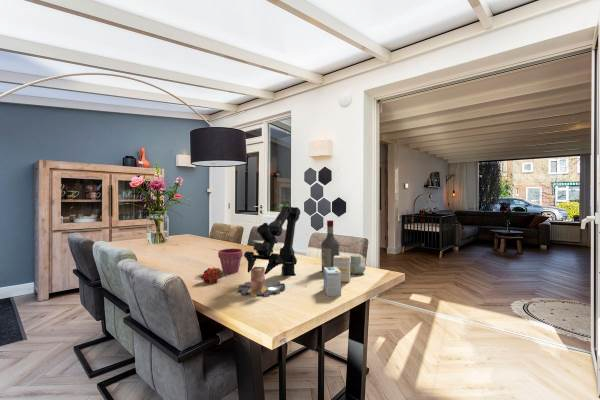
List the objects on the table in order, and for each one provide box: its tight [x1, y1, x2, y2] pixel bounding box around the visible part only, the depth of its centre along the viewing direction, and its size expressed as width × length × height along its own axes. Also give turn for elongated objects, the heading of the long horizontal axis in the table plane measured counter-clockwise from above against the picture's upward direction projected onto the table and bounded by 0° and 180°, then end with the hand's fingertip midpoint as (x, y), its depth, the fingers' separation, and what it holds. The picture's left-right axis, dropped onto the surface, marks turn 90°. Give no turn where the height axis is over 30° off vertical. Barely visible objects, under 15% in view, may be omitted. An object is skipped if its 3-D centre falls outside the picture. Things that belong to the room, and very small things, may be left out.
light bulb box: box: [323, 267, 342, 297], centre depth 145 cm, size 11×7×11 cm, turn 5°
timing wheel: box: [237, 279, 286, 298], centre depth 151 cm, size 23×23×1 cm
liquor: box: [321, 219, 340, 273], centre depth 183 cm, size 9×9×30 cm
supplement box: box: [333, 255, 351, 283], centre depth 163 cm, size 8×5×13 cm, turn 71°
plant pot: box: [217, 248, 244, 275], centre depth 185 cm, size 14×14×13 cm
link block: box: [250, 266, 266, 291], centre depth 146 cm, size 5×5×10 cm
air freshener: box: [350, 254, 367, 275], centre depth 179 cm, size 11×8×10 cm
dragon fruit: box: [199, 266, 223, 284], centre depth 164 cm, size 8×8×12 cm
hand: (256, 273), depth 145 cm, fingers open, 9 cm apart
